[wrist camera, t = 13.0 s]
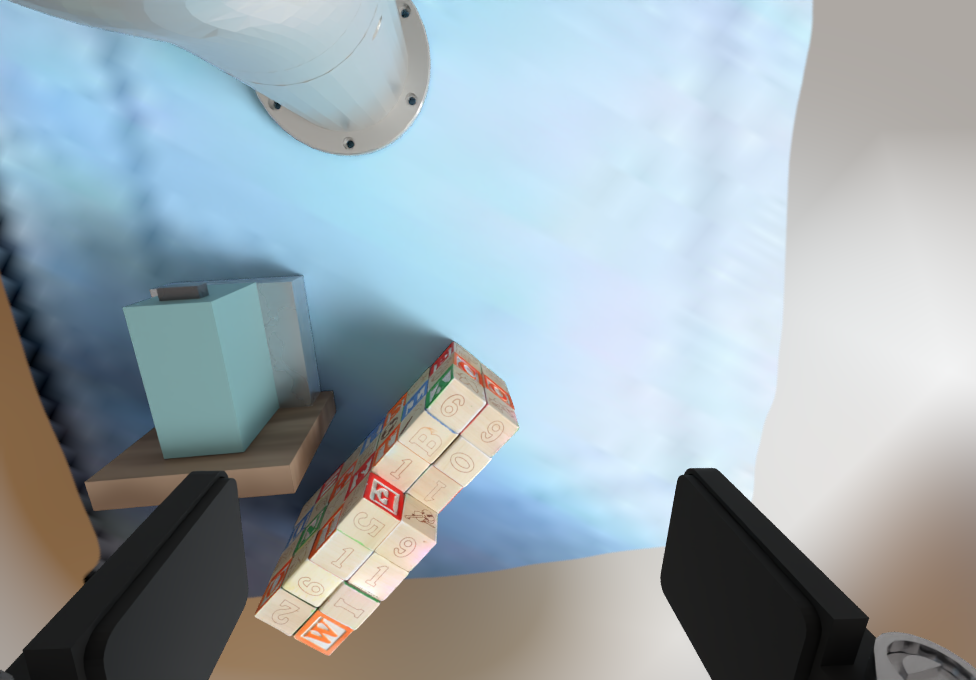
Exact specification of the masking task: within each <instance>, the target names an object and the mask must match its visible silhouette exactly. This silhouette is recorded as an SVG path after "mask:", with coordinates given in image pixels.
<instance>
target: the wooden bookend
mask: <svg viewBox="0 0 976 680" xmlns="http://www.w3.org/2000/svg"><path fill="white" fill-rule="evenodd" d="M253 282H256V286H257V291H258V297H259V302H260V307H261V312H262V318H263V323H264V328H265V334H266V339H267V344H268V349H269V355H270V360H271V365H272V370H273V376H274V381H275V386H276V392H277V397H278V402H279V409H278V410H277V411H276V412H275V414H274V415H273V416H272V417H271V419H270V420H269V421H268V422H267V424H266V425H265V426H264V428H263V429H262V430H261V431H260V433H259V434H258V435H257V436H256V438H255V439H254V440H253V441H252V443H251V444H250V445H249V446H248V448H247V449H246V450H245V451H244V452H239V453H228V454H216V455H204V456H192V457H181V458H169V459H164V457H163V453H162V450H161V446H160V442H159V439H158V435H157V431H156V428H155V427H154V428H153V429H152V430H151V431H149V432H148V433H147V434H145V435H144V436H143V437H142V438H140V439H139V440H138V441H137V442H135V443H134V444H133V445H131V446H130V447H129V448H128V449H126V450H125V451H124V452H123V453H121V454H120V455H119V456H117V457H116V458H115V459H114V460H112V461H111V462H110V463H109V464H107V465H106V466H105V467H103V468H102V469H101V470H100V471H98V472H97V473H96V474H95V475H93V476H92V477H91V478H89V479H88V480H87V481H86V482H85V485H86V488H87V491H88V494H89V497H90V500H91V503H92V507H93V510H94V511H98V510H109V509H121V508H132V507H143V506H155V505H160V504H161V503H162V502H163V501H164V500H165V499H166V498H167V497H168V496H169V495H170V493H171V492H172V491H173V490H174V489H175V488H176V487H177V486H178V485H179V484H180V483H181V482H182V481H183V480H184V479H185V478H186V477H187V475H188V474H190V473H191V472H192V471H225V472H226V473H227V475H228V478H234V479H235V480H236V483H237V489H238V498H246V497H257V496H268V495H280V494H291V493H295V492H296V490H297V488H298V486H299V484H300V482H301V480H302V478H303V476H304V474H305V472H306V470H307V468H308V466H309V464H310V462H311V460H312V458H313V456H314V455H315V453H316V451H317V449H318V447H319V445H320V443H321V441H322V439H323V437H324V435H325V433H326V431H327V429H328V427H329V425H330V423H331V421H332V419H333V417H334V415H335V413H336V408H335V401H334V394H333V391H322V392H321V388H320V381H319V375H318V368H317V362H316V355H315V349H314V343H313V336H312V330H311V323H310V317H309V310H308V304H307V298H306V291H305V285H304V278H303V275H302V276H284V277H266V278H248V279H231V280H213V281H195V282H177V283H170V284H167V285H175V284H191V283H207V285H220V284H236V283H253ZM163 286H165V285H163ZM160 287H162V286H160ZM157 288H159V287H157ZM150 293H151V297H155V296H158V294H157V290H156V288H153V289H150Z"/></svg>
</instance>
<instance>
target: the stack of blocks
mask: <svg viewBox="0 0 976 680" xmlns="http://www.w3.org/2000/svg"><path fill="white" fill-rule="evenodd" d="M514 410H515V409H514V406H513V403H512V400H511V397H510V395H509V392H508V389H507V386H506V383H505V382H504V381H503V380H502V379H500V378H499V377H498V376H497V375H496V374H494V373H493V372H492V371H491V370H489V369H488V368H487V367H486V366H484V365H483V364H482V363H480V361H479V360H477V359H476V358H475V357H474V356H473V355H471V354H470V353H469V352H468V351H466V350H465V349H464V348H463V347H461V346H460V345H459V344H457V343H456V342H454V341H453V342H452V343H451V344H450V345H449V346H448V348H447V349H446V350H445V351H444V352H443V353H442V355H441V356H440V357H439V358H438V359H437V360H436V361H435V363H434V364H433V365H432V367H429V368H428V369H427V370H426V371H425V372H424V373H423V374H422V376H421V377H420V378H419V379H418V380H417V381H416V382H415V383H414V384H413V386H412V387H411V388H410V389H409V391H408V392H406V393H405V394H404V395H403V397H402V398H401V399H400V400H399V401H398V402H397V403H396V404H395V405H394V407H393V408H392V409H391V410H390V411H389V412H388V413H387V415H386V417H385V418H384V419H383V420H382V421H381V422H380V423H379V424H378V426H377V427H376V428H375V429H374V430H373V431H372V432H371V433H370V434H369V435H368V437H367V438H366V439H365V441H363V443H362V444H361V445H360V446H359V447H358V448H357V449H356V450H355V451H354V453H353V454H352V455H351V456H350V457H349V458H348V459H347V460H346V462H344V463H343V464H342V465H341V466H340V467H339V468H338V469H337V470H336V471H335V472H334V474H333V475H332V476H331V477H330V478H329V479H328V480H327V481H326V482H325V483H324V485H323V486H322V487H321V488H320V489H319V490H318V491H317V492H316V493H315V494H314V495H313V496H312V497H311V498H310V500H309V501H308V502H307V503H306V504H305V505H304V506H303V508H302V510H301V513H300V515H299V517H298V519H297V522H296V524H295V526H294V530H293V532H292V534H291V536H290V539H289V541H288V543H287V545H286V547H285V549H284V551H283V553H282V555H281V557H280V559H279V561H278V563H277V565H276V567H275V570H274V572H273V574H272V577H271V579H270V581H269V585H268V586H267V588H266V591H265V593H264V595H263V597H262V600H261V602H260V604H259V606H258V608H257V610H256V612H255V617H256V618H258V619H260V620H262V621H264V622H266V623H267V624H269V625H271V626H273V627H275V628H276V629H278V630H280V631H282V632H283V633H285V634H287V635H289V636H291V635H293V636H294V638H295V639H297V640H298V641H300V642H302V643H304V644H306V645H308V646H310V647H312V648H314V649H316V650H318V651H320V652H322V653H324V654H326V655H330V654H331V653H332V652H333V651H334V650H335V649H336V648H337V647H338V646H339V645H340V644H341V643H342V642H343V641H344V640H345V639H346V638H347V637H348V636H349V635H350V634H351V632H352V631H353V630H356V629H357V628H358V627H359V626H360V625H361V624H362V623H363V622H364V621H365V620H366V619H367V618H368V616H369V615H370V614H371V613H372V612H373V611H374V610H375V609H376V608H377V607H378V606H379V604H380V602H381V601H382V600H385V599H386V598H387V597H388V596H389V595H390V594H391V592H392V591H393V590H394V589H395V588H396V587H397V586H398V585H399V584H400V583H401V582H402V581H403V580H404V579H405V577H406V576H407V575H408V573H409V571H411V570H412V569H413V568H414V567H415V566H416V565H417V564H418V563H419V562H420V561H421V559H422V558H423V557H424V556H425V555H426V554H427V553H428V552H429V551H430V550H431V549H432V547H433V546H434V545H435V544H436V543H437V520H438V514H439V513H440V512H441V511H442V510H443V508H444V507H445V506H446V505H447V504H448V503H449V502H450V501H451V500H452V499H453V498H454V497H455V496H456V495H457V494H458V493H459V492H460V491H461V490H462V488H463V487H466V486H467V485H468V484H469V483H470V482H471V481H472V480H473V478H474V477H475V476H476V475H477V474H478V473H479V472H480V471H481V470H482V469H483V468H484V467H485V466H486V465H487V464H488V463H489V462H490V461H491V460H492V456H493V455H495V454H496V453H497V452H498V451H499V450H500V448H501V447H502V446H503V445H504V444H505V443H506V442H507V441H508V440H509V439H510V438H511V437H512V436H513V435H514V434H515V433H516V432H517V431H518V429H519V425H518V422H517V419H516V415H515V412H514Z"/></svg>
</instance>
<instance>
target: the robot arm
mask: <svg viewBox="0 0 976 680" xmlns="http://www.w3.org/2000/svg"><path fill="white" fill-rule="evenodd" d="M8 1H11V2H13V3H16V4H19V5H21V6H24V7H27V8H30V9H33V10H36V11H39V12H41V13H44V14H47V15H50V16H54V17H57V18H60V19H64V20H67V21H70V22H74V23H77V24H80V25H85V26H89V27H94V28H98V29H103V30H108V31H112V32H117V33H122V34H126V35H131V36H136V37H142V38H147V39H152V40H157V41H163V42H167V43H170V44H173V45H175V46H178V47H180V48H182V49H184V50H186V51H188V52H190V53H192V54H193V55H195V56H197V57H199V58H201V59H203V60H204V61H206V62H208V63H210V64H211V65H213V66H215V67H217V68H218V69H220V70H222V71H224V72H225V73H227V74H229V75H231V76H232V77H234V78H236V79H237V80H239V81H241V82H243V83H244V84H246V85H248V86H249V87H251V88H253V89H254V90H255V92H256V94H257V97H258V99H259V100H260V102H261V103H262V105H263V106H264V108H265V109H266V111H267V112H268V114H269V115H270V116H271V117H272V118H273V119H274V120H275V122H276V123H277V124H278V125H279V126H280V127H281V128H282V129H283V130H285V131H286V132H287V133H288V134H290V135H291V136H292V137H294V138H295V139H296V140H298V141H300V142H302V143H304V144H305V145H307V146H309V147H311V148H313V149H316V150H319V151H321V152H325V153H329V154H334V155H339V156H359V155H364V154H369V153H373V152H376V151H378V150H380V149H383V148H385V147H387V146H389V145H390V144H392V143H393V142H395V141H396V140H397V139H399V138H400V137H401V136H402V135H403V134H404V133H405V132H406V131H407V130H408V129H409V128H410V127H411V126H412V124H413V123H414V121H415V119H416V118H417V116H418V115H419V113H420V112H421V109H422V106H423V104H424V101H425V99H426V96H427V92H428V87H429V81H430V61H431V59H430V51H429V44H428V40H427V35H426V31H425V27H424V25H423V22H422V20H421V18H420V15H419V13H418V11H417V8H416V7H415V5H414V4H413V2H412V1H411V0H8ZM403 12H408V13H409V16H408V17H407V18H403V17H402V13H403ZM411 98H414V99H415V100H416V103H415V104H414V105H410V104H409V100H410V99H411ZM276 103H279V104H280V105H281V107H280V109H276V107H275V105H276ZM349 141H353V143H354V146H353V148H349V147H348V142H349ZM660 578H661V586H662V590H663V593H664V595H665V596H666V598H667V600H668V602H669V604H670V606H671V607H672V609H673V611H674V613H675V614H676V616H677V618H678V620H679V621H680V623H681V625H682V627H683V629H684V631H685V632H686V634H687V636H688V638H689V640H690V641H691V643H692V645H693V647H694V649H695V650H696V652H697V654H698V656H699V658H700V659H701V661H702V663H703V665H704V666H705V668H706V670H707V672H708V673H709V675H710V677H711V679H712V680H976V669H975V668H974V667H972V666H971V665H970V664H969V663H968V662H966V661H965V660H963V659H962V658H960V657H959V656H957V655H955V654H954V653H952V652H951V651H949V650H947V649H946V648H943V647H941V646H939V645H937V644H935V643H933V642H931V641H929V640H926V639H923V638H920V637H917V636H914V635H911V634H906V633H899V632H890V633H883V634H881V635H880V636H879V637H877V638H876V637H875V636H874V635H873V634H872V633H871V632H870V631H869V630H867V628H866V626H867V623H868V620H869V617H867V615H866V614H865V613H864V612H863V611H861V609H859V608H858V607H857V606H856V605H855V604H854V603H853V602H852V601H851V600H850V599H849V598H848V597H847V596H846V595H845V594H844V593H843V592H842V591H841V590H840V589H839V588H838V587H837V586H836V585H835V584H834V583H833V582H832V581H831V580H830V579H829V578H828V577H827V576H826V575H825V574H824V573H823V572H822V571H821V570H820V569H819V568H818V567H816V565H815V564H814V563H812V561H810V560H809V559H808V558H807V557H806V556H805V555H804V554H803V553H802V552H801V551H800V550H799V549H798V548H797V547H796V546H795V545H794V544H793V543H792V542H791V541H790V540H789V539H788V538H787V537H786V536H785V535H784V534H783V533H782V532H781V531H780V530H779V529H778V528H777V527H776V526H775V525H774V524H773V523H772V522H771V521H770V520H769V519H767V518H766V516H765V515H764V514H762V513H761V512H760V511H759V510H758V509H757V508H756V507H755V506H754V505H753V504H752V503H751V502H750V501H749V500H748V499H747V498H746V497H745V496H744V495H743V494H742V493H741V492H740V491H739V490H738V489H737V488H736V487H735V486H734V485H733V484H732V483H731V482H730V481H729V480H728V479H727V478H726V477H725V476H724V475H723V474H722V473H721V472H720V471H718V470H717V469H715V468H689V469H687V470H686V472H685V474H684V475H681V476H679V478H678V480H677V485H676V490H675V496H674V502H673V507H672V513H671V519H670V524H669V530H668V536H667V541H666V547H665V553H664V558H663V564H662V570H661V577H660ZM247 596H248V579H247V570H246V561H245V552H244V543H243V534H242V525H241V516H240V507H239V498H238V489H237V483H236V480H235V479H234V478H228V475H227V473H226V472H225V471H192V472H191V473H190V474H188V475H187V477H186V478H185V479H184V480H183V481H182V482H181V483H180V484H179V485H178V486H177V487H176V488H175V489H174V490H173V491H172V492H171V493H170V495H169V496H168V497H167V498H166V499H165V500H164V501H163V502H162V503H161V504H160V505H159V506H158V507H157V508H156V509H155V510H154V511H153V513H152V514H151V515H150V516H149V517H148V518H147V519H146V520H145V521H144V522H143V523H142V524H141V525H140V526H139V527H138V528H137V529H136V530H135V532H134V533H133V534H132V535H131V536H130V537H129V538H128V539H127V540H126V541H125V542H124V543H123V544H122V545H121V546H120V547H119V548H118V550H117V551H116V552H115V553H114V554H113V555H112V556H111V557H110V558H109V559H108V560H107V561H106V562H105V563H104V564H103V565H102V566H101V568H100V569H99V570H98V571H97V572H96V573H95V574H94V575H93V576H92V577H91V578H90V579H89V580H88V581H87V582H86V583H85V584H84V586H83V587H82V588H81V589H80V590H79V591H78V592H77V593H76V594H75V595H74V596H73V597H72V598H71V599H70V601H68V602H67V604H66V605H65V606H64V607H63V608H62V609H61V610H60V611H59V612H58V613H57V614H56V615H55V616H54V617H53V618H52V619H51V620H50V622H49V623H48V624H47V625H46V626H45V627H44V628H43V629H42V630H41V631H40V632H39V633H38V634H37V635H36V636H35V638H34V639H32V641H31V642H30V643H29V644H28V645H27V646H26V647H25V648H24V649H23V653H22V654H21V655H20V656H19V657H18V658H17V659H16V660H15V661H14V663H13V664H12V665H11V666H10V667H9V668H8V669H7V670H6V671H5V672H4V671H2V670H0V680H208V679H209V677H210V675H211V673H212V671H213V669H214V667H215V665H216V663H217V661H218V659H219V657H220V655H221V653H222V651H223V649H224V647H225V645H226V643H227V641H228V639H229V637H230V635H231V633H232V631H233V629H234V627H235V625H236V623H237V621H238V619H239V617H240V615H241V613H242V611H243V609H244V606H245V604H246V601H247Z"/></svg>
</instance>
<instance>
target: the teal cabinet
mask: <svg viewBox="0 0 976 680" xmlns="http://www.w3.org/2000/svg"><path fill="white" fill-rule="evenodd" d="M156 290H157V294H158V296H155V297H152V298H149V299H146V300H143V301H140V302H137V303H134V304H131V305H128V306H125V307H122V308H123V311H124V315H125V319H126V322H127V326H128V330H129V333H130V337H131V340H132V344H133V348H134V351H135V355H136V359H137V362H138V366H139V370H140V373H141V377H142V380H143V384H144V388H145V391H146V395H147V399H148V402H149V406H150V410H151V413H152V417H153V420H154V424H155V428H156V431H157V435H158V439H159V442H160V446H161V450H162V453H163V457H164V459H169V458H181V457H192V456H204V455H216V454H228V453H239V452H244V451H245V450H246V449H247V448H248V446H249V445H250V444H251V443H252V441H253V440H254V439H255V438H256V436H257V435H258V434H259V433H260V431H261V430H262V429H263V428H264V426H265V425H266V424H267V422H268V421H269V420H270V419H271V417H272V416H273V415H274V414H275V412H276V411H277V410H278V409H279V402H278V397H277V392H276V386H275V381H274V376H273V370H272V365H271V360H270V355H269V349H268V344H267V339H266V334H265V328H264V323H263V318H262V312H261V307H260V302H259V297H258V291H257V286H256V282H253V283H236V284H220V285H207V283H191V284H175V285H165V286H162V287H159V288H156Z"/></svg>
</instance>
